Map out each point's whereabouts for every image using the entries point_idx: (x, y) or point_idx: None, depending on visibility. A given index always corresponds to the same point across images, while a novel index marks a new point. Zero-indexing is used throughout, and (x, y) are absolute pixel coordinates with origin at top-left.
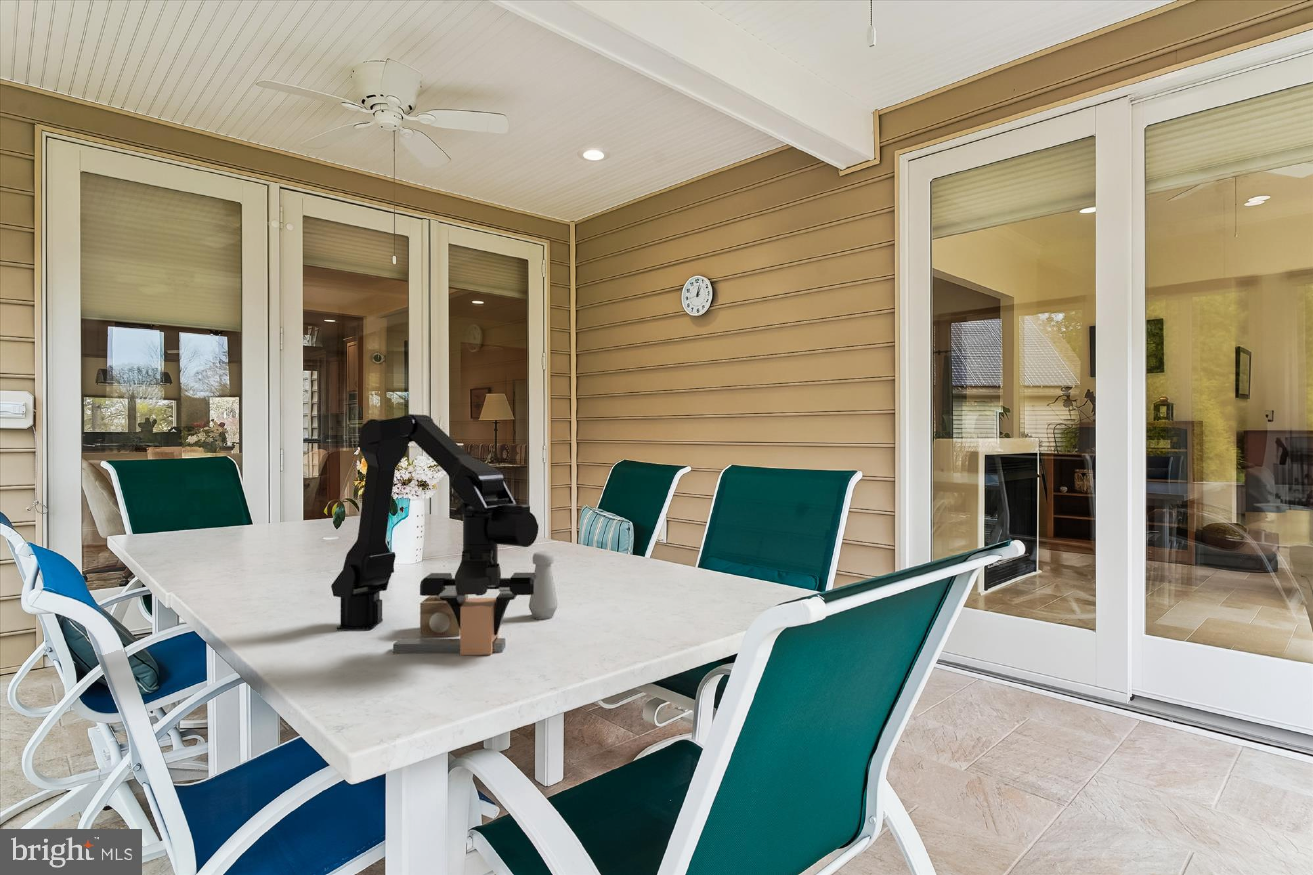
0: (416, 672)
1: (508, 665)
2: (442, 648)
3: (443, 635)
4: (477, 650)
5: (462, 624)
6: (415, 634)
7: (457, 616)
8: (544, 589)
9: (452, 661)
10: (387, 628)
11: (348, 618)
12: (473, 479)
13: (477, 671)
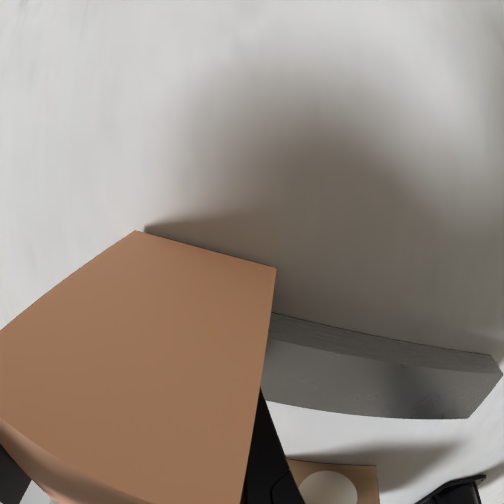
0: (467, 87)
1: (77, 81)
2: (354, 343)
3: (316, 464)
4: (187, 252)
5: (243, 376)
6: (380, 473)
7: (277, 472)
8: None
9: (318, 189)
10: (415, 491)
11: (475, 494)
12: None
13: (197, 12)
